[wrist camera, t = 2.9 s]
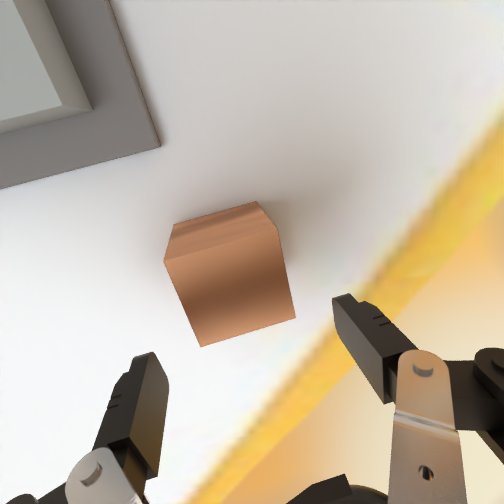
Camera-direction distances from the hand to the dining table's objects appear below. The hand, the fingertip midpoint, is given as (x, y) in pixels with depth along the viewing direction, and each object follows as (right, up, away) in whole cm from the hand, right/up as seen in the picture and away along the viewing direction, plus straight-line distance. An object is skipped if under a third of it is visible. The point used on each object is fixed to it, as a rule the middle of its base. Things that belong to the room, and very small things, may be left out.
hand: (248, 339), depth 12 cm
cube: (-2, +4, +9) cm, 10 cm away
